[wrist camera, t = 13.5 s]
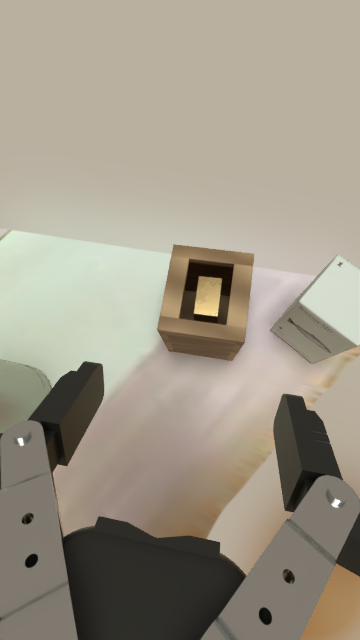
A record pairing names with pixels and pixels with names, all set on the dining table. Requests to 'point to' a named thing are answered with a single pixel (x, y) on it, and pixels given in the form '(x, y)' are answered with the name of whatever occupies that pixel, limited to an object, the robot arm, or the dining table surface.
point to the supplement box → (325, 313)
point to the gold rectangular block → (207, 299)
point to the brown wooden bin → (181, 299)
